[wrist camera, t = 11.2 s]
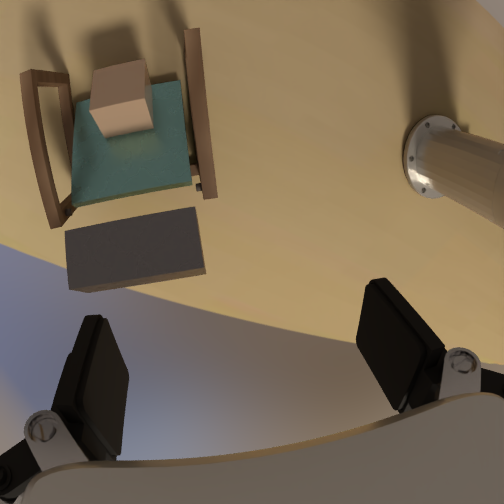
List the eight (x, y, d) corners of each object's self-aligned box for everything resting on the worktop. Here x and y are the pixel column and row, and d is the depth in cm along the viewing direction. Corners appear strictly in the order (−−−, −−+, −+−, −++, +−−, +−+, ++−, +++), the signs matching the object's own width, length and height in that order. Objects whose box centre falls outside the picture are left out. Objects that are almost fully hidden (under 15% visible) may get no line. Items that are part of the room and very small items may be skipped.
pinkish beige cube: (152, 90, 29) (144, 58, 25) (153, 128, 29) (144, 98, 24) (106, 99, 29) (93, 70, 24) (105, 138, 28) (89, 110, 23)
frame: (195, 46, 29) (199, 27, 20) (209, 171, 36) (217, 197, 27) (59, 77, 27) (19, 73, 18) (80, 195, 34) (50, 229, 25)
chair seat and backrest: (181, 94, 33) (178, 69, 28) (206, 274, 29) (204, 267, 25) (84, 115, 31) (71, 94, 27) (88, 292, 28) (69, 289, 24)
